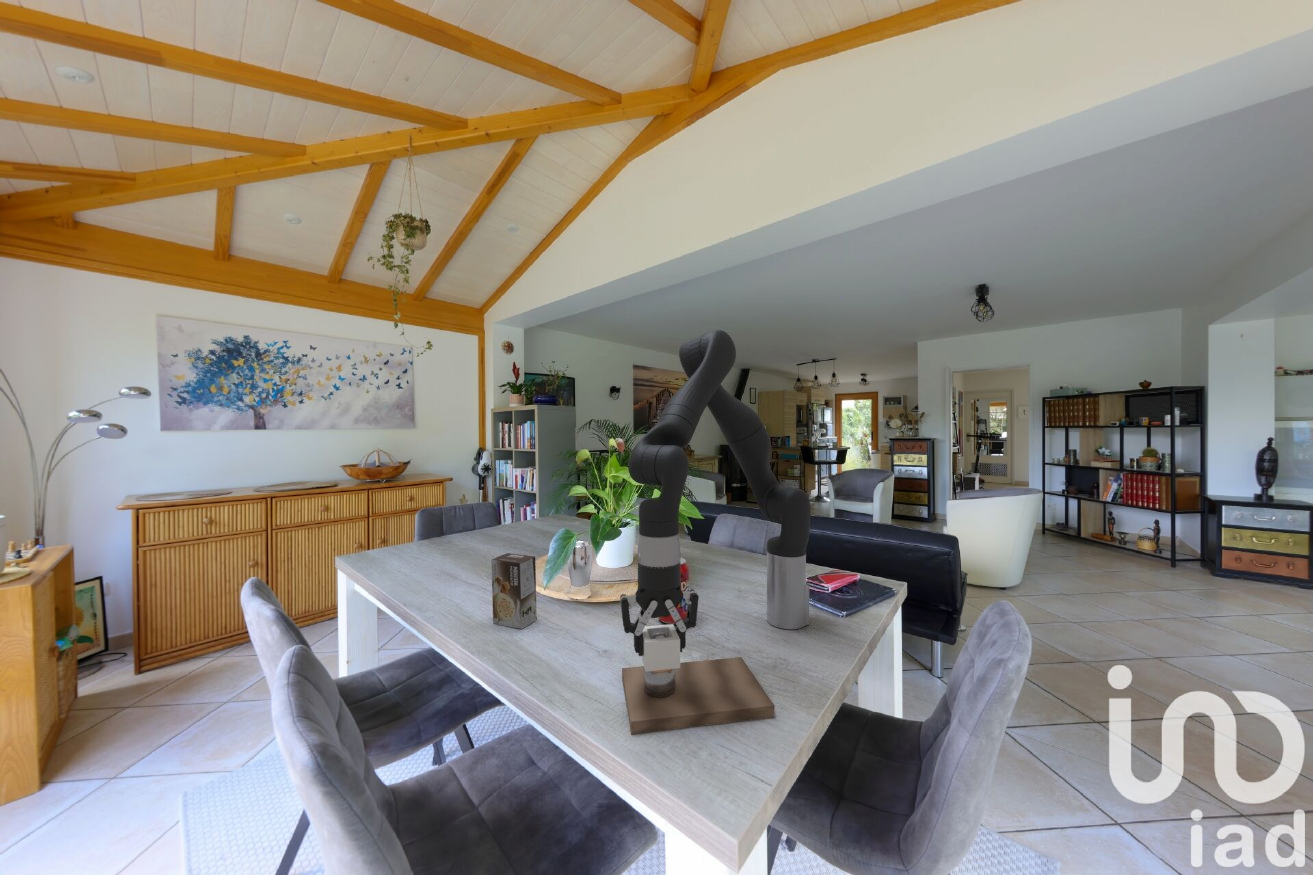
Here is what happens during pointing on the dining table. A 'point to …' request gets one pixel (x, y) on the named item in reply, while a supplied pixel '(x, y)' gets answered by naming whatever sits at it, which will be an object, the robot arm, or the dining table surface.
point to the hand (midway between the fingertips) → (659, 651)
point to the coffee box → (514, 590)
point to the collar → (661, 648)
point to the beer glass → (580, 564)
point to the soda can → (684, 587)
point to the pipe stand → (693, 695)
